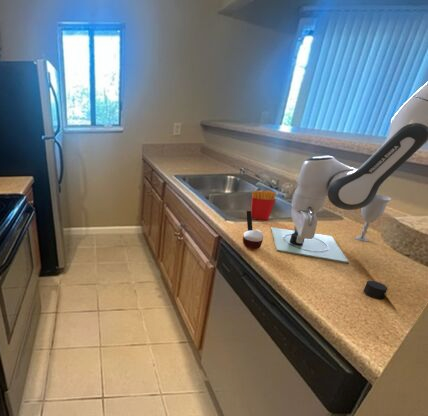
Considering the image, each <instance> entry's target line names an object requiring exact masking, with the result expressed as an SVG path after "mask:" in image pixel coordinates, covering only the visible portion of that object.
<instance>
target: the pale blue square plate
mask: <svg viewBox="0 0 428 416" xmlns="http://www.w3.org/2000/svg"><path fill="white" fill-rule="evenodd" d="M270 230H271V235H272V238H273V239H272V240H273V242H274V247H275V251H276V252H280V253H285V254H286V253H287V254H291V255H298V256H304V257H310V258H314V259H320V260H327V261H332V262H336V263H337V262H338V263H344V264H350V261H349V259H348V258H347V256H346V255H345V253H344V252H343V251H342V249H341V247H340V245H338V243H337V242H336V241H335V239H334V237H333V236H332V235H328V234H320V233H315V235H314V237H313V238H312V239H306V238H305V239H304V243H303V245H301V246H298V245H294V244H292V243H290V239H291V235H292V234H293V233H294V229H293V230H292V229H286V228H279V227H273V226H271V227H270Z"/></svg>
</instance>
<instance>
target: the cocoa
mask: <svg viewBox="0 0 428 416" xmlns="http://www.w3.org/2000/svg"><path fill="white" fill-rule="evenodd" d="M252 220H253V219H252V216H251V210H246V222H247V223H246V224H247V230H246V231H245V232H244V233H243V236H242V243H243V245H244V247H246V248H247V249H250V250H259V249H260V248H261V246H262V244H263V242H264V241H263V240H264V238H265V235H264V234H263V232H262V231H260V230H259V229H253V221H252Z"/></svg>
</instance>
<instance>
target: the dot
mask: <svg viewBox="0 0 428 416" xmlns="http://www.w3.org/2000/svg"><path fill="white" fill-rule="evenodd" d="M387 291H388V286H387V285H386V284H384V283H382V282H379V281H376V280H367V281H366V283H365V285H364V288H363V293H364V294H365V295H366V296H368V297H370V298H373V299H377V300H383V299H384V298H385V295H386V293H387Z"/></svg>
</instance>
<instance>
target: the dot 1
mask: <svg viewBox="0 0 428 416" xmlns="http://www.w3.org/2000/svg"><path fill="white" fill-rule="evenodd" d="M297 236H298V234H297V233H293V234H292V235H291V239H290V243H292V244H294V245H298V246H301V245H303V243H304V240H303V243H297V242H296V238H297ZM304 239H305V238H304Z"/></svg>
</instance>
